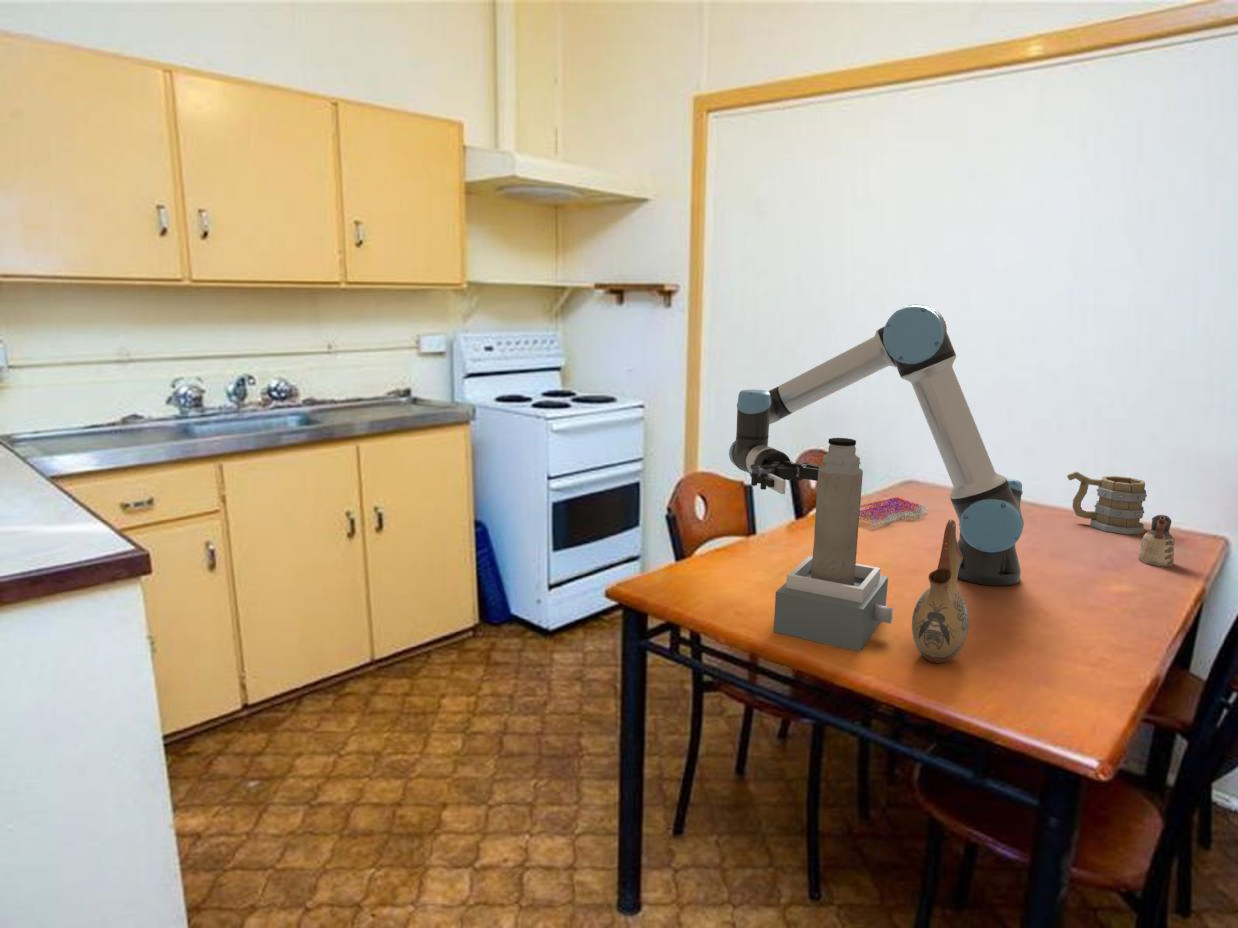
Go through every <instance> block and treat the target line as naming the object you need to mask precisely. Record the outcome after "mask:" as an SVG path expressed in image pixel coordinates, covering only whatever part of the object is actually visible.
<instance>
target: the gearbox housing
mask: <svg viewBox="0 0 1238 928" xmlns="http://www.w3.org/2000/svg"><path fill="white" fill-rule="evenodd" d="M812 559H813V555H808V556H807V557H806V558H805V559H804V560H803V561H802V562H800V563H799V564H798V565H797V566H795V568H794V569H793V570H792V571H790V572H789V573H788V574H787V575H786V582H785V583H784V584H783V585H782V586H781V587H779V588H778V589H777V590H776V591H775V599H774V614H773V615H774V620H773V632H774V633H776V634H780V635H785V636H789V637H794V638H798V639H802V640H807V641H811V642H816V643H819V644H825V645H828V646H832V647H836V648H837V647H838V648H842V649H846V650H849V651H854V652H859V653H861V651H862V650H863V648H864V647H865V645H866V644H867V643H868V641H869V639H870V638H871V636H872V635H873V633H874V632H875V630H876V629H877V628H878V626H879V624H880V623H885V624H889V625H891V624H892V621H893V619H894V618H893V617H894V607H891V606H887V596H888V595H887V594H888V585H889V584H888V583H889V576H885V575H882V574H881V567H876V566H872V565H865V564H861V563H856V566H855V579H854V586H851V585H846V584H841V583H835V582H830V581H825V580H820V579H814V578H811V574H812Z"/></svg>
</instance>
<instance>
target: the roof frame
mask: <svg viewBox="0 0 1238 928" xmlns="http://www.w3.org/2000/svg"><path fill="white" fill-rule="evenodd" d="M861 509H862V510H861ZM928 510H929V507H928V506H925V505H924V506H923V505H921V504H919V503H915V502H912V501H908V500H905V499H903V498H899V497H898V496H897V497H891V498H889V499H883V500H880V501H875V502H869V503H865V504H860V515H859V520H864V521H867V522H870V523H869V525H872V530H874V529H876V528H877V529H879V528H882V526H883V525H884V526H891V523H890V522H893V523H894V522H895V523H896V521H898V519H899V521H902V520H906V521H907V520H909V521H910V520H911V521H912V520H913V521H914V520H915V521H916V520H918V518H920V515H925V514H927V511H928ZM905 511H906V512H905ZM925 511H926V512H925ZM890 515H891V516H890ZM868 516H869V517H868ZM880 522H881V523H880Z"/></svg>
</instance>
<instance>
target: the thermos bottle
mask: <svg viewBox="0 0 1238 928" xmlns="http://www.w3.org/2000/svg"><path fill="white" fill-rule="evenodd" d="M828 444H829V446H828V451H827V453H826V454H824V455H823V456H822V461H821V463H822V465H819V466H820V467H819V469H818V481H817V486H816V487H817V488H816V502H815V516H814V531H813V532H814V535H813V537H814V538H813V546H812V547H813V548H812V556H813V559H812V574H811V578H814V579H820V580H825V581H830V582H835V583H841V584H846V585H851V586H854V579H855V566H856V564H857V554H858V553H857V551H858V536H859V523H860V516H859V515H861V513H860V511H861V508H860V506H861V501H862V488H863V475H864V471H863V469H862V468H860V465H861V459H860V457H859V456H858V455H856V454H857V453H856V449H857V448H856V445H857V440H856V439H852V438H846V437H832V438H828Z"/></svg>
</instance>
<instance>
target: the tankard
mask: <svg viewBox="0 0 1238 928" xmlns="http://www.w3.org/2000/svg"><path fill="white" fill-rule="evenodd" d="M1066 477H1067V478H1068V481H1073V480H1075V479H1076V480H1077V481H1079V482H1080V485H1079V488H1078V490H1077V493H1076V494H1075V496H1074V497H1073V499H1072V510H1073V512H1074V514H1075V515H1076V517H1080V518H1083V519H1088V520H1090V524H1089V527H1091V528H1094V529H1097V530H1101V531H1102V532H1106V533H1112V534H1121V535H1128V536H1129V535H1142V534H1143V535H1144V530H1145V527H1144V526H1145V525H1144V523H1142V522H1140V519H1143V517H1144V513H1145V510H1144V509H1145V508H1144V506H1143V502H1145V501H1146V498H1147V497H1148V495H1147V490H1146V489H1145V488H1146V482H1145V481H1144V480H1141V479H1138V478H1132V477H1126V476H1117V475H1116V476H1115V475H1111V476H1110V475H1105V476H1102V477H1101V479H1098V478H1097V479H1096V478H1091V477H1089V476H1086V475H1083V474H1082V473H1080V472H1078V471H1074V472H1072V473H1071V472H1070V473H1069V474H1067V475H1066ZM1089 486H1096V487H1097V486H1098V487H1097V488H1096V492H1097V493H1096V494H1097V496H1098V500H1097V501H1096V503H1095V505H1094V508H1095V509H1094V511H1089V510H1088V511H1087V510H1084V509H1083V508H1082V506H1081V505H1082V501H1084V500H1083V499H1084V498H1085V496H1086V495H1087V493H1088V489H1089Z"/></svg>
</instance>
